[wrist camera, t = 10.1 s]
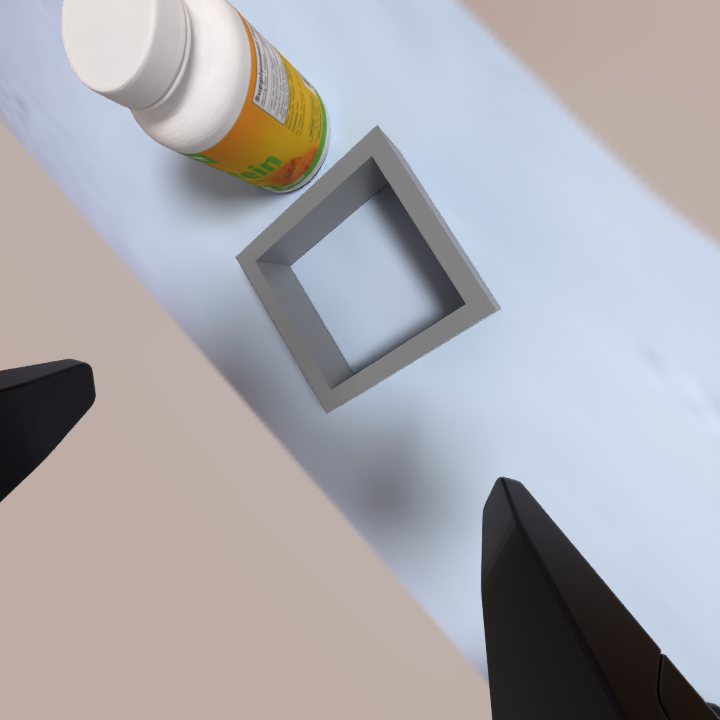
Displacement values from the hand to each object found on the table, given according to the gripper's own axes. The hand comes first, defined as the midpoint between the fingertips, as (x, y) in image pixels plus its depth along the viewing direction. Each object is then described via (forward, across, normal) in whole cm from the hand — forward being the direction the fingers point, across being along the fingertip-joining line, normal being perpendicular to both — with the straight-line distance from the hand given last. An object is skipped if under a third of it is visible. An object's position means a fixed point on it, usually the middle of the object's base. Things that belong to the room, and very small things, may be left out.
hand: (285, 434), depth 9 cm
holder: (+13, 0, 0) cm, 13 cm away
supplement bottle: (+16, +6, -5) cm, 18 cm away
